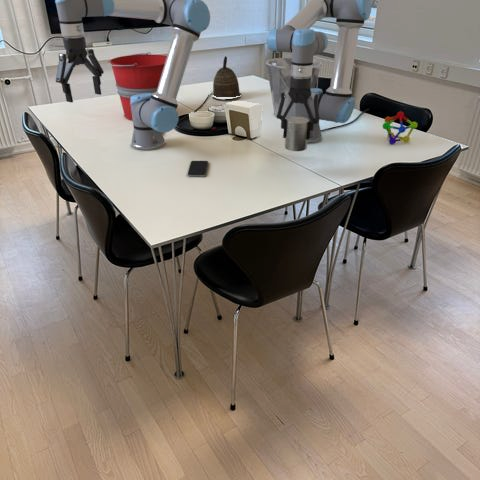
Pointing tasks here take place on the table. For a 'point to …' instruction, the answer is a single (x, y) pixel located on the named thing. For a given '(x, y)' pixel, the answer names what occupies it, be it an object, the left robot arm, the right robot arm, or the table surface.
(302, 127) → the tin
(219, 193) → the table surface
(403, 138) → the educational toy
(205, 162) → the smartphone
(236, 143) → the table surface
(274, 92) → the bucket
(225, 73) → the bell
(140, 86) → the bucket
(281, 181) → the table surface
